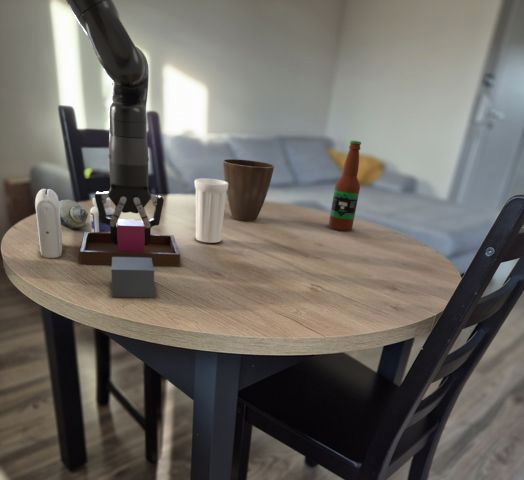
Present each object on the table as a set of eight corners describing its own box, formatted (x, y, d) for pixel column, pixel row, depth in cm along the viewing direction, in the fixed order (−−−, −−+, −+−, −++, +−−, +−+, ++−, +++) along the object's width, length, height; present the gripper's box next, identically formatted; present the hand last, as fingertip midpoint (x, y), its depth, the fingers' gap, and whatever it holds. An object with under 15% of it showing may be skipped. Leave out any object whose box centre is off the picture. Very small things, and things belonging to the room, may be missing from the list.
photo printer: (62, 258, 98) (57, 195, 92) (39, 258, 96) (32, 194, 90) (63, 243, 106) (58, 185, 100) (41, 243, 104) (35, 184, 99)
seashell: (79, 226, 125) (83, 239, 115) (49, 214, 121) (51, 225, 111) (88, 204, 123) (93, 214, 114) (58, 190, 119) (61, 200, 110)
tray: (80, 264, 96) (79, 251, 94) (85, 243, 108) (84, 231, 107) (179, 266, 101) (180, 254, 100) (173, 246, 113) (173, 235, 112)
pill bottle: (119, 236, 116) (118, 198, 112) (108, 241, 111) (106, 202, 107) (99, 232, 117) (97, 194, 112) (87, 237, 112) (85, 198, 108)
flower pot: (209, 214, 147) (212, 158, 139) (247, 211, 156) (252, 159, 149) (239, 226, 137) (244, 167, 130) (278, 222, 146) (284, 167, 139)
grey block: (112, 297, 83) (111, 269, 81) (112, 282, 89) (112, 256, 86) (153, 297, 85) (154, 270, 82) (151, 283, 91) (151, 257, 88)
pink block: (117, 251, 101) (116, 225, 98) (117, 243, 106) (116, 218, 103) (144, 252, 102) (144, 226, 100) (143, 244, 107) (143, 219, 104)
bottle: (324, 228, 147) (339, 139, 135) (332, 224, 153) (347, 139, 141) (347, 233, 144) (364, 143, 133) (354, 228, 150) (371, 142, 139)
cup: (190, 235, 123) (193, 177, 117) (222, 237, 125) (226, 179, 118) (193, 244, 116) (196, 183, 110) (226, 246, 118) (231, 185, 111)
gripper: (164, 160, 101) (163, 240, 109) (91, 155, 97) (96, 237, 105) (167, 166, 94) (166, 250, 102) (89, 160, 91) (94, 248, 98)
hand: (130, 243), depth 103 cm, fingers closed on pink block, 5 cm apart
